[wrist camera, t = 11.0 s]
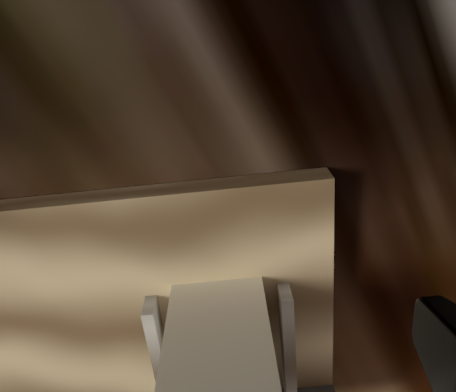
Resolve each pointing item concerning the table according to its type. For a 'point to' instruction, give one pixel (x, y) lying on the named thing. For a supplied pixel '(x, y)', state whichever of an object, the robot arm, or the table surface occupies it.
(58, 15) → the table surface
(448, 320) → the robot arm
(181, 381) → the carton
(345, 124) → the table surface
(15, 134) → the table surface
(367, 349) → the table surface
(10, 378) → the flat beige panel
